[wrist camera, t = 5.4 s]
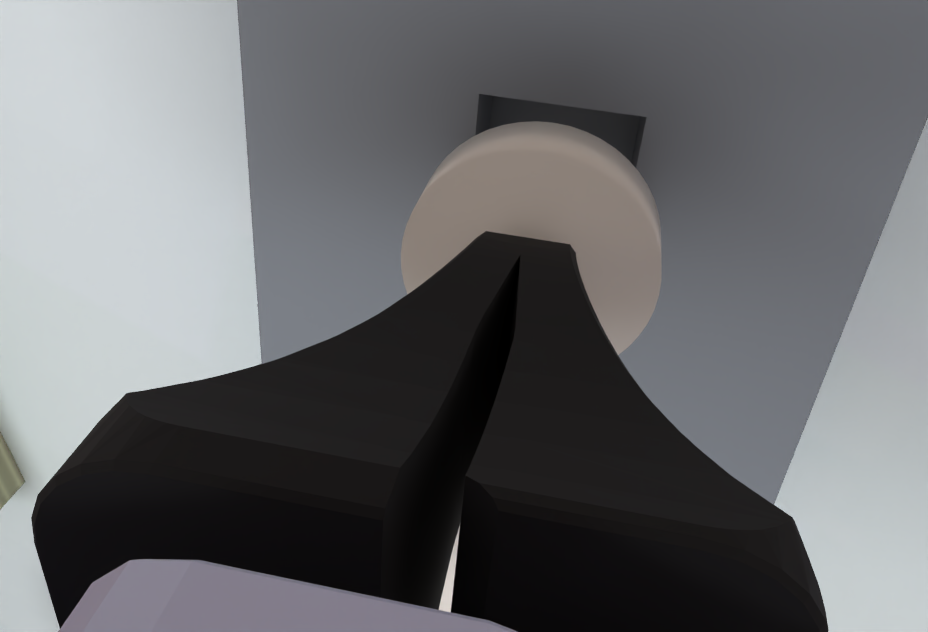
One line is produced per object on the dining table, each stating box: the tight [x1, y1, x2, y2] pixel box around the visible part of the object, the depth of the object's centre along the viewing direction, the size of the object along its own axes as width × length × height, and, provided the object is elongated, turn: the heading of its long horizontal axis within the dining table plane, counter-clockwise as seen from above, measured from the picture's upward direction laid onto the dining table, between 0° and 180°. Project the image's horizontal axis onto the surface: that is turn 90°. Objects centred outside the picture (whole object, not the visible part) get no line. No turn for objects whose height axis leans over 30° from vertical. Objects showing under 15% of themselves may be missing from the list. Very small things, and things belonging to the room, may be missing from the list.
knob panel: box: [237, 0, 928, 505], centre depth 17 cm, size 12×24×3 cm, turn 175°
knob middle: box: [401, 121, 662, 355], centre depth 14 cm, size 4×4×3 cm
